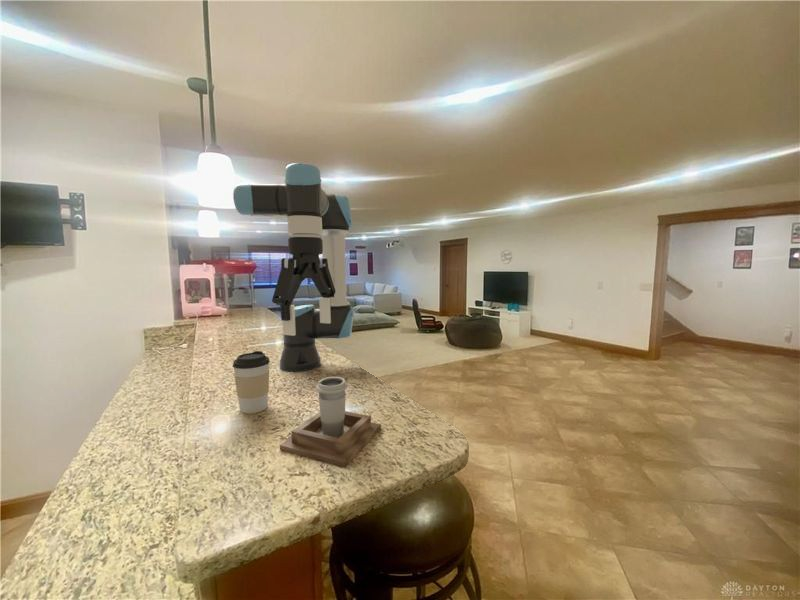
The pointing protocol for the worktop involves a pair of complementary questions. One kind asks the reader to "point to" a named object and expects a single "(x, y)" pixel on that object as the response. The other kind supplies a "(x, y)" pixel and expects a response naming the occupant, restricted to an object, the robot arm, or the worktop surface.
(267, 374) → the coffee cup
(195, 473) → the worktop surface
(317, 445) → the holder
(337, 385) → the cup
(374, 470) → the worktop surface
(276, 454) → the worktop surface
